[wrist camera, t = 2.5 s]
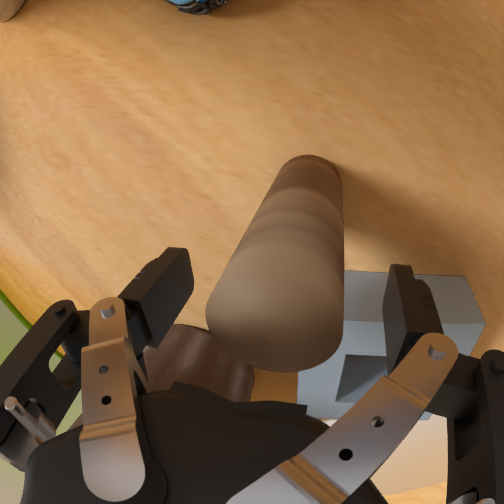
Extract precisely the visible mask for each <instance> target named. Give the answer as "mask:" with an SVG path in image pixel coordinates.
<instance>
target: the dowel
mask: <svg viewBox="0 0 504 504" xmlns="http://www.w3.org/2000/svg"><path fill="white" fill-rule="evenodd" d="M206 321H207V325H208V328H209V330H210V332H211V334H212V336H213V337H214V339H215V340H216V341H217V342H218V344H219V345H220V346H221V347H222V348H223V349H224V350H225V351H227V352H228V353H229V354H230V355H232V356H233V357H235V358H236V359H238V360H240V361H242V362H244V363H246V364H248V365H251V366H253V367H256V368H259V369H263V370H268V371H274V372H298V371H303V370H307V369H311V368H314V367H316V366H318V365H320V364H322V363H324V362H325V361H327V360H328V359H329V358H331V357H332V356H333V355H334V353H335V352H336V351H337V349H338V348H339V346H340V344H341V341H342V337H343V325H344V229H343V205H342V187H341V180H340V177H339V174H338V172H337V171H336V169H335V168H334V167H333V165H332V164H330V163H329V162H328V161H326V160H325V159H323V158H321V157H318V156H314V155H302V156H298V157H295V158H293V159H291V160H289V161H288V162H287V163H286V164H285V165H284V166H283V167H282V168H281V170H280V172H279V173H278V175H277V177H276V179H275V180H274V182H273V184H272V186H271V187H270V189H269V191H268V193H267V195H266V196H265V198H264V200H263V202H262V203H261V205H260V207H259V209H258V211H257V212H256V214H255V216H254V218H253V219H252V221H251V223H250V225H249V227H248V228H247V230H246V232H245V234H244V236H243V237H242V239H241V241H240V243H239V245H238V246H237V248H236V250H235V252H234V254H233V255H232V257H231V259H230V261H229V263H228V264H227V266H226V268H225V270H224V272H223V273H222V275H221V277H220V279H219V281H218V283H217V284H216V286H215V288H214V290H213V292H212V293H211V295H210V297H209V300H208V302H207V306H206Z"/></svg>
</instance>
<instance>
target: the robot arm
mask: <svg viewBox="0 0 504 504" xmlns="http://www.w3.org/2000/svg"><path fill="white" fill-rule="evenodd" d="M24 1H25V0H0V22H4V21H7V20H8V19H10V18H11V17H12V16H13V15H14V14H15V13H16V12H17V11H18V10H19V9H20V7H21V6H22V5H23V3H24ZM193 289H194V277H193V272H192V267H191V262H190V257H189V252H188V250H187V249H186V248H175V247H168V248H167V249H166V250H165V251H164V252H163V253H162V254H161V255H160V257H159V258H156V259H154V260H152V261H151V262H149V263H147V264H146V265H145V267H144V268H143V269H142V270H141V271H140V273H138V274H137V275H136V276H135V279H133V280H132V281H131V282H130V283H129V284H128V285H127V287H126V288H125V289H124V290H123V291H122V292H121V293H120V294H119V296H118V297H109V298H105V299H102V300H100V301H98V302H97V303H96V304H95V305H94V306H93V307H92V308H91V310H82V311H77V309H76V307H75V305H74V303H73V302H72V301H71V300H61V301H58V302H56V303H54V304H53V305H51V306H50V307H49V308H48V309H47V310H46V312H45V313H44V314H43V315H42V316H41V317H40V318H39V319H38V321H37V322H36V323H35V324H34V325H33V326H32V328H31V329H30V330H29V331H28V332H27V333H26V335H25V336H24V337H23V338H22V339H21V341H20V342H19V343H18V344H17V346H16V347H15V348H14V349H13V350H12V352H11V353H10V354H9V355H8V357H7V358H6V359H5V361H4V362H3V363H2V364H1V366H0V457H1V458H2V459H3V460H5V461H7V462H9V463H10V464H11V465H13V466H14V467H16V468H17V469H18V470H20V471H22V472H25V482H24V489H23V494H22V498H21V502H20V504H388V503H387V501H386V500H385V499H384V497H383V496H382V495H381V493H380V492H379V490H378V489H377V488H376V486H375V485H374V484H373V482H372V481H371V480H370V478H371V477H372V476H373V474H374V473H375V472H376V471H377V470H378V469H379V468H380V467H381V466H382V465H383V463H384V462H385V461H386V460H387V459H388V458H389V457H390V455H391V454H392V453H393V452H394V451H395V449H396V448H397V447H398V446H399V444H400V443H401V442H402V441H403V440H404V438H405V437H406V436H407V434H408V433H409V432H410V431H411V429H412V428H413V427H414V425H415V424H416V423H417V421H418V420H419V419H420V417H421V416H422V415H423V413H424V412H429V413H432V414H436V415H439V416H443V417H446V418H447V433H448V480H447V498H446V504H504V352H502V351H500V350H488V351H486V352H485V353H484V354H483V355H482V357H481V359H477V358H474V357H470V356H467V355H464V354H461V353H459V352H458V348H457V346H456V344H455V343H454V341H453V340H452V339H450V338H449V337H448V336H446V335H444V332H443V328H442V325H441V321H440V318H439V314H438V311H437V308H436V305H435V301H434V300H433V295H432V292H431V289H430V287H429V286H428V285H427V284H426V283H425V282H424V281H423V280H422V279H415V277H414V274H413V271H412V268H411V266H410V265H400V264H391V266H390V270H389V275H388V280H387V284H386V289H385V293H384V298H383V307H382V313H383V323H384V333H385V344H386V357H387V374H388V377H387V376H386V375H384V376H382V377H381V378H380V379H379V380H378V381H377V382H376V383H375V384H374V385H373V386H372V387H371V388H370V389H369V390H368V391H367V392H366V393H365V394H364V395H363V396H362V397H361V398H360V399H359V400H358V401H357V402H356V403H355V404H354V405H353V406H352V407H351V408H350V409H349V410H348V411H347V412H346V413H345V414H344V415H343V416H342V417H341V418H340V419H339V420H337V421H336V422H335V423H334V424H333V425H332V426H331V427H329V426H328V425H327V424H325V423H324V422H322V421H321V420H318V419H316V418H314V417H312V416H309V415H306V413H307V407H308V405H303V404H294V403H286V402H279V401H256V402H233V401H231V400H228V399H226V398H224V397H222V396H220V395H218V394H215V393H213V392H211V391H209V390H207V389H205V388H202V387H198V386H194V385H189V384H185V383H181V382H177V381H174V382H173V384H172V385H171V387H170V389H166V390H157V391H153V388H152V383H151V379H150V375H149V370H148V366H147V361H146V356H145V353H144V351H143V350H144V348H145V347H146V346H149V347H153V348H158V347H159V345H160V343H161V342H162V340H163V339H164V337H165V335H166V334H167V332H168V331H169V329H170V327H171V326H172V324H173V323H174V321H175V319H176V318H177V316H178V315H179V313H180V312H181V310H182V308H183V307H184V305H185V304H186V302H187V301H188V299H189V297H190V296H191V294H192V292H193ZM60 344H61V346H62V348H63V349H64V351H65V352H66V354H65V356H64V357H63V358H62V360H61V361H60V363H59V364H58V365H57V367H56V368H55V370H54V371H53V372H51V371H50V369H49V360H50V358H51V356H52V355H53V353H54V352H55V351H56V349H57V348H58V347H59V345H60ZM80 390H82V412H83V424H82V425H80V426H77V427H75V428H73V429H71V430H69V431H67V432H64V433H62V434H60V435H58V436H56V430H57V428H58V426H59V424H60V423H61V421H62V419H63V418H64V416H65V414H66V413H67V411H68V409H69V408H70V406H71V404H72V403H73V401H74V399H75V398H76V396H77V394H78V393H79V391H80ZM55 436H56V437H55Z"/></svg>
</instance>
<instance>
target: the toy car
mask: <svg viewBox="0 0 504 504" xmlns="http://www.w3.org/2000/svg"><path fill="white" fill-rule="evenodd" d="M165 1H167V2H169V3H171V4H172V5H174V6H176V7H178V8H179V9H178V11H182V12H186V13H190V14H194V15H204V14H207V13H208V12H210V11H212V9H210V8H209V7H207V5H209V6H210V7H212V8H217V7H220V6H223V5H224V4H226V3H227V2H229V1H230V0H165ZM206 4H207V5H206Z"/></svg>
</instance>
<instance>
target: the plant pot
mask: <svg viewBox="0 0 504 504" xmlns="http://www.w3.org/2000/svg"><path fill="white" fill-rule="evenodd" d="M143 351H144V353H145V356H146V361H147V366H148V370H149V375H150V379H151V383H152V388H153V391H157V390H166V389H170V387H171V385H172V384H173V382H174V381H177V382H181V383H185V384H189V385H194V386H198V387H202V388H205V389H207V390H209V391H211V392H213V393H215V394H218V395H220V396H222V397H224V398H226V399H228V400H231V401H233V402H250V398H251V393H252V389H253V384H254V373H253V370H252V367H251V365H248V364H246V363H244V362H242V361H240V360H238V359H236V358H235V357H233V356H232V355H230V354H229V353H228V352H227V351H225V350H224V349H223V348H222V347H221V346H220V345H219V344H218V342H217V341H216V340H215V339H214V337H213V336H212V334H211V333H209V332H207V331H204V330H201V329H199V328H195V327H191V326H186V325H180V324H173V325H172V326H171V327H170V329H169V331H168V332H167V334H166V335H165V337H164V339H163V340H162V342H161V343H160V345H159V347H158V348H153V347H149V346H146V347H145V348H144V350H143ZM82 424H83V413H82V414H81V415H80V416H79V417H78V418H77V420H76V421H75V422H74V423H73V425H72V426H71V427H70V428H69V429H68V430H67V431H69V430H71V429H73V428H75V427H77V426H80V425H82Z"/></svg>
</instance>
